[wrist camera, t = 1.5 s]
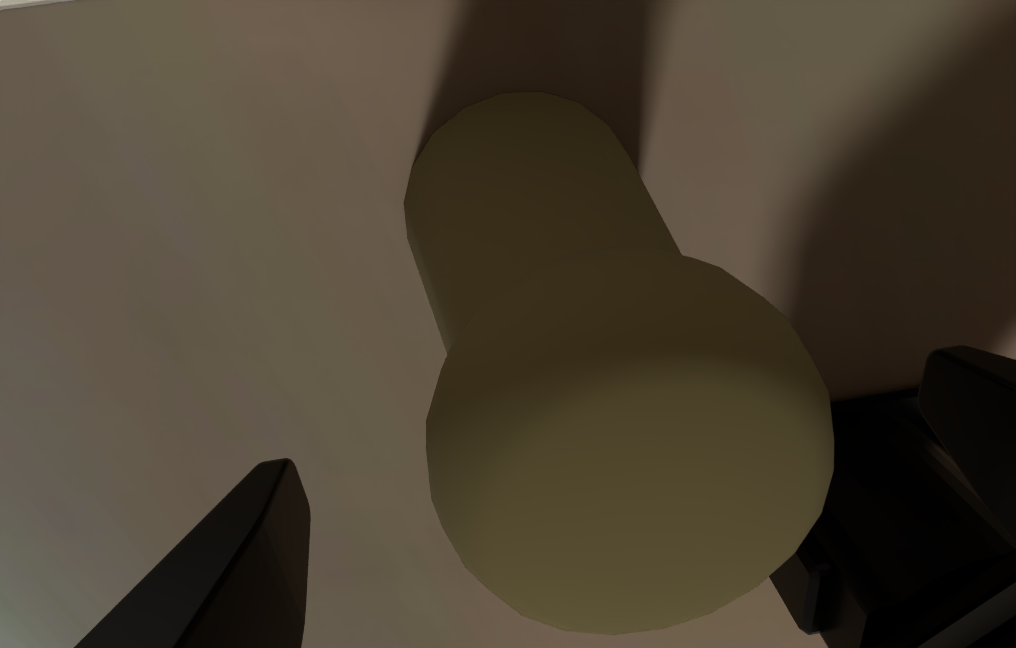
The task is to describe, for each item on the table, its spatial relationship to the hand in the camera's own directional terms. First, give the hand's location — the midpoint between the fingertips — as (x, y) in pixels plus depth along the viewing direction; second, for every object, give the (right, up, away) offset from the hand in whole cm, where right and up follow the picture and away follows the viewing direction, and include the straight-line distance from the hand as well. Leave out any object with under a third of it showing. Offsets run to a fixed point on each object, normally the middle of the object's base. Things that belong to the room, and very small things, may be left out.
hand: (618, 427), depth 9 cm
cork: (-1, +4, +8) cm, 9 cm away
